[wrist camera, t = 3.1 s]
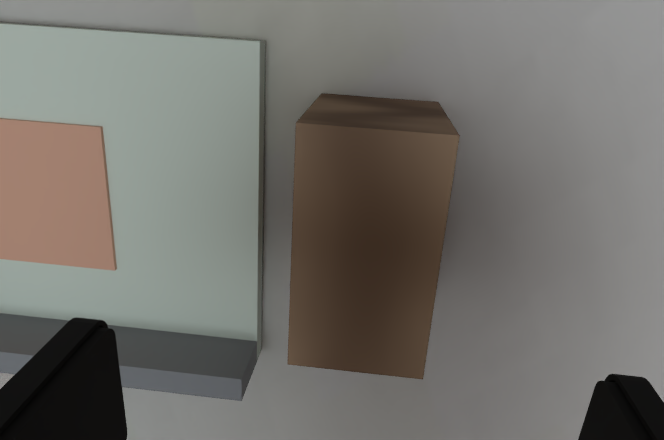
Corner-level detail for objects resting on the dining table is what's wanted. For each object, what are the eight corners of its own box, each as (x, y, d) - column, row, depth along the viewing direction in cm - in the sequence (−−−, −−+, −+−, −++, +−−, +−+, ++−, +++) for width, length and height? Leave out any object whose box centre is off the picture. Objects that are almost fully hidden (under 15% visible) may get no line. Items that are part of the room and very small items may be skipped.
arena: (265, 40, 22) (240, 44, 18) (261, 349, 27) (241, 400, 24) (-175, 10, 23) (-282, 8, 20) (-93, 310, 29) (-164, 353, 25)
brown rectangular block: (438, 101, 22) (459, 135, 16) (413, 287, 25) (422, 379, 19) (321, 93, 22) (295, 122, 16) (312, 277, 26) (287, 364, 19)
